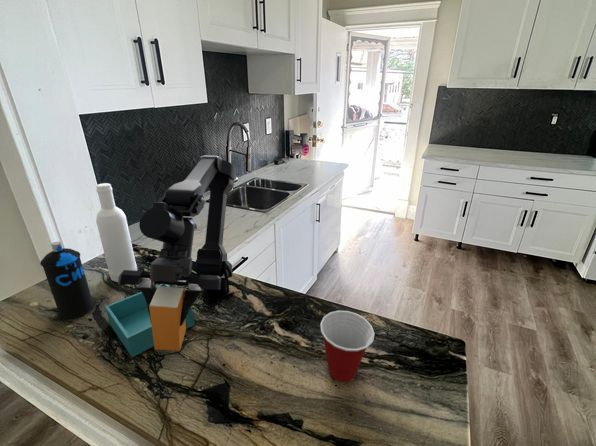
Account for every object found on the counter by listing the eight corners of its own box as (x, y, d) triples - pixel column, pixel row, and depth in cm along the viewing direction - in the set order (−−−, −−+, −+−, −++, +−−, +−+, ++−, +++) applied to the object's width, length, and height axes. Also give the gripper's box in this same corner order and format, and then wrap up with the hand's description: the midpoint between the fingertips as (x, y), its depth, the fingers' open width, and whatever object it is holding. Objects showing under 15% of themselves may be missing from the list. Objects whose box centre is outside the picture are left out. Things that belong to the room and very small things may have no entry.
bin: (168, 298, 90) (165, 282, 87) (194, 324, 80) (192, 307, 78) (109, 324, 80) (104, 306, 77) (131, 357, 70) (127, 338, 68)
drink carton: (162, 329, 68) (157, 285, 61) (185, 330, 69) (184, 287, 62) (154, 349, 64) (148, 305, 57) (179, 350, 65) (177, 307, 58)
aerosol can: (51, 314, 83) (26, 247, 75) (81, 297, 90) (61, 233, 82) (72, 323, 80) (49, 253, 72) (101, 304, 87) (83, 239, 79)
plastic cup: (357, 403, 60) (363, 356, 56) (308, 377, 66) (310, 332, 61) (375, 365, 69) (382, 321, 64) (331, 345, 74) (334, 303, 69)
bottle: (105, 282, 97) (80, 188, 85) (118, 268, 104) (97, 180, 92) (131, 282, 97) (110, 188, 85) (142, 269, 104) (124, 181, 92)
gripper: (113, 236, 56) (96, 328, 53) (219, 244, 58) (210, 332, 55) (135, 244, 67) (122, 321, 64) (224, 251, 69) (216, 325, 66)
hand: (166, 324), depth 62 cm, fingers closed on drink carton, 5 cm apart
